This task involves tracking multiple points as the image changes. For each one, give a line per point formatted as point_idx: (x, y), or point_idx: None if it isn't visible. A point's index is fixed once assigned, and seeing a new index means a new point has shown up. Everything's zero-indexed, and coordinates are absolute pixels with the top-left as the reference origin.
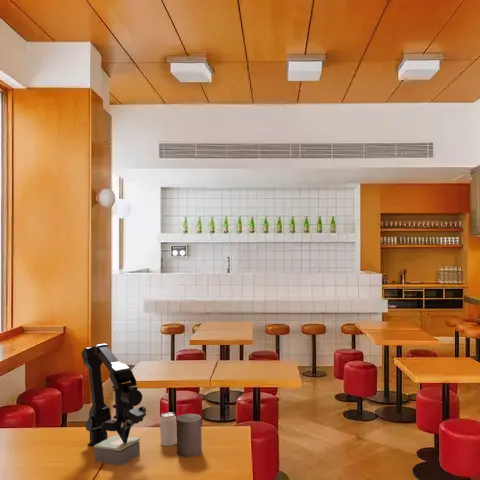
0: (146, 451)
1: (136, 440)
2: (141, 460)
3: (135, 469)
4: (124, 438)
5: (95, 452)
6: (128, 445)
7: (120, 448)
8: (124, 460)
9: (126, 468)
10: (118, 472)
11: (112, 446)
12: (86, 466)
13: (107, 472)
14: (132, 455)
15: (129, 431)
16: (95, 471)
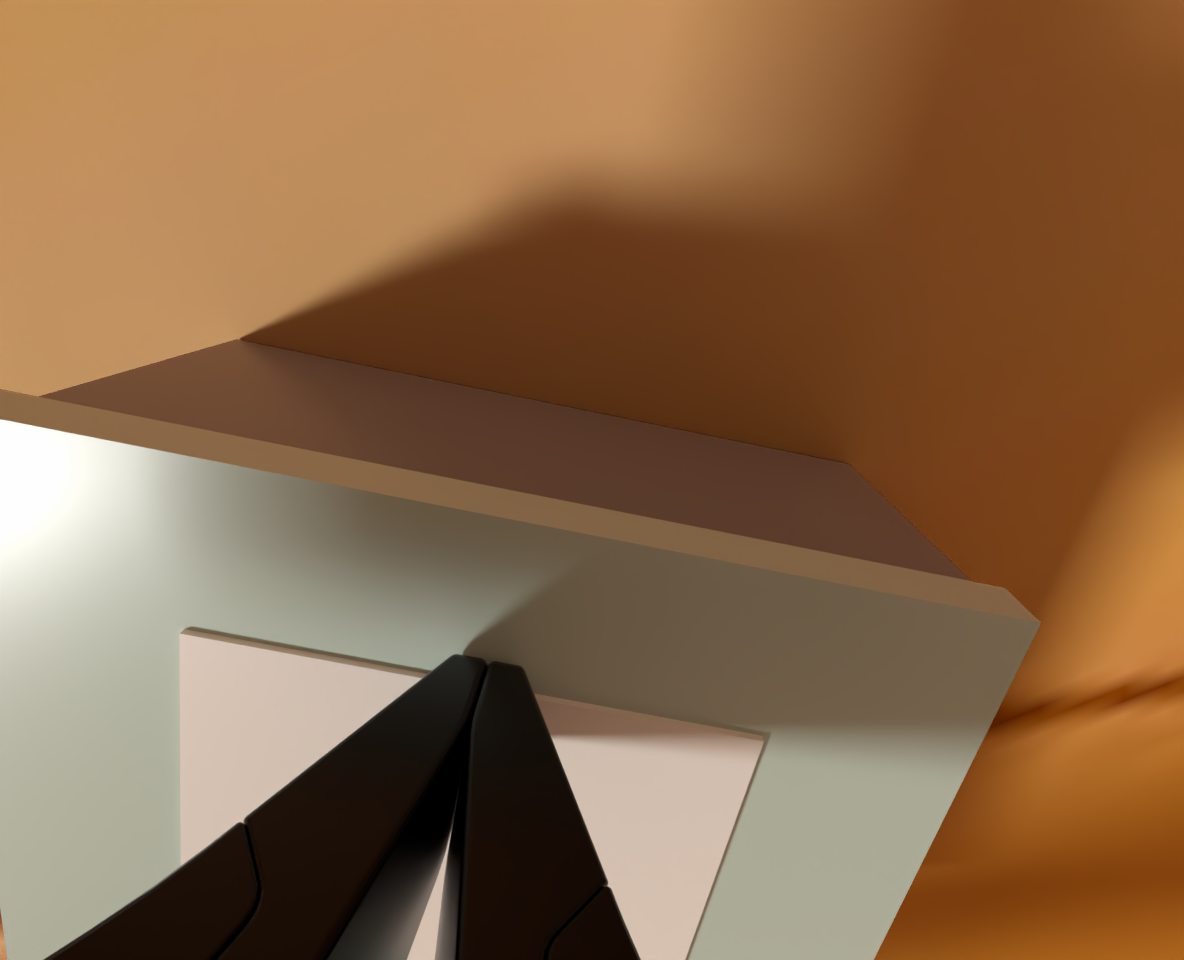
0: (40, 273)
1: (154, 441)
2: (516, 154)
3: (1014, 53)
4: (555, 792)
5: None
6: (598, 519)
7: (1007, 615)
8: (726, 454)
9: (964, 284)
10: (1164, 352)
11: (816, 882)
12: (907, 925)
13: (1153, 546)
14: (461, 402)
15: (181, 885)
16: (1101, 740)
